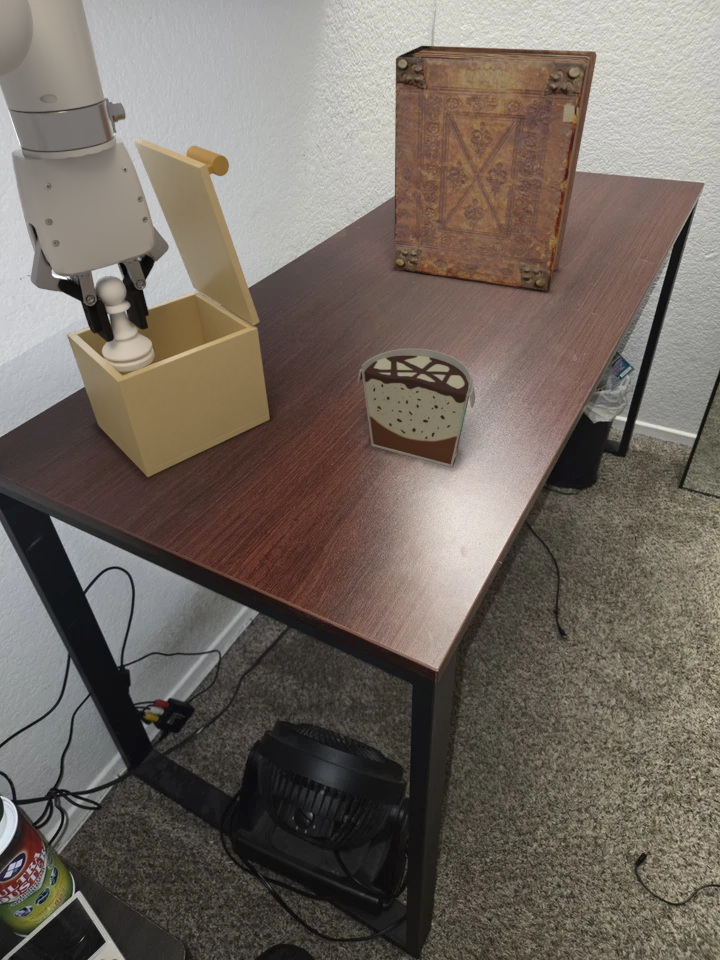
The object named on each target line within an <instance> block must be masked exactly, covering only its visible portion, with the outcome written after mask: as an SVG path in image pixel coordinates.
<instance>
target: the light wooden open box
mask: <svg viewBox="0 0 720 960" xmlns="http://www.w3.org/2000/svg"><path fill="white" fill-rule="evenodd" d="M147 308H148V312H149V315H148V316H146V320H147V324H148V328H147V329H144V330H142V329H140V328H138V327H137V326H136V325H134V324H133V323H132V322H131V321H129V322H130V324H131V325H133V326H135V327H136V328H137V329H138V333H139V334H141V335H143V336H145V337H147V338H148V339H149V340H151V342H152V347H153V350H154V353H155V357H154V360H153V361H152V363H150V364H149V365H148V366H146V367H144V368H141V369H139V370H136V371H131V372H118V371H117V370H116V369H115V368H114V367H112V366H111V365H110V364H109V363H108V362H107V361H106V360H105V359H104V356H103V355H102V349H103V346H104V345H105V344H106V343H107V341H105V340H104V339H103V338H102V337H101V336H100V335H98V334H97V333H96V334H94V333H93V332H92V331H91V330H90V328H89V326H88V327H85V328H81V329H78V330H75V331H72V332H70V333H67V334H66V336H67V339H68V342H69V346H70V349H71V352H72V354H73V356H74V359H75V362H76V365H77V368H78V372H79V374H80V376H81V380H82V382H83V385H84V389H85V391H86V394H87V398H88V400H89V402H90V403H89V404H90V406H91V409H92V411H93V414H94V417H95V420H96V422H97V425H98V427H99V428H100V429H101V430H102V431H103V432H104V433H105V434H106V435H107V437H109V439H111V441H112V442H113V443H114V444H115V445H116V446H117V447H118V448H119V449H120V450H121V451H122V452H123V453H124V454H125V455H126V456H127V457H128V459H130V460H131V462H132V463H133V464H134V465H135V466H136V467H137V468H138V469H139V470H140V471H141V472H142V473H143V474H144V475H145V476H146V477H147V478H149V477H152V476H154V475H156V474H158V473H160V472H162V471H164V470H167V469H169V468H170V467H173V466H175V465H177V464H179V463H181V462H184V461H185V460H188V459H190V458H192V457H194V456H196V455H198V454H200V453H202V452H204V451H207V450H209V449H211V448H213V447H215V446H218V445H220V444H222V443H223V442H225V441H228V440H230V439H232V438H234V437H236V436H239V435H240V434H243V433H245V432H247V431H250V430H251V429H253V428H255V427H257V426H259V425H262V424H264V423H266V422H269V420H271V418H270V417H271V416H270V409H269V403H268V395H267V388H266V381H265V373H264V366H263V358H262V351H261V345H260V344H261V343H260V337H259V330H258V327H257V326H256V325H252V324H251V323H249V322H248V321H246V320H244V319H243V318H241V317H240V316H238V315H236V314H235V313H233V312H232V311H230V310H228V309H227V308H225V307H224V306H222V305H220V304H219V303H217V302H216V301H214V300H212V299H211V298H209V297H208V296H206V295H204V294H203V293H201V292H200V291H198V290H194V291H191V292H189V293H185V294H183V295H180V296H176V297H173V298H170V299H167V300H165V301H162V302H159V303H158V302H157V303H156V304H153V305H150V306H147ZM126 315H127V313H126ZM127 318H128V316H127ZM128 320H129V319H128ZM109 321H110V319H109ZM110 325H111V322H110Z"/></svg>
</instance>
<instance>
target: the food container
mask: <svg viewBox="0 0 720 960" xmlns="http://www.w3.org/2000/svg"><path fill="white" fill-rule="evenodd" d="M360 381H362V384H363V393H364V401H365V407H366V415H367V423H368V431H369V439H370V444H371V447H373V448H376V449H381V450H384V451H388V452H392V453H396V454H399V455H403V456H407V457H411V458H414V459H418V460H422V461H427V462H429V463H433V464H436V465H437V464H438V465H441V466H445V467H448V468H453V466H454V464H455V461H456V458H457V454H458V448H459V444H460V440H461V436H462V431H463V426H464V422H465V417H466V412H467V408H468V404H470V408H471V409H473V408H474V405H475V403H476V392H475V384H474V380H473V377H472V374H471V372H470V369H468V367H467V366H466V365H465V364H464V363H463V362H461V360H459V359H457V358H456V357H453V356H451V355H449V354H448V353H445V352H441V351H437V350H432V349H426V348H399V349H392V350H388V351H385V352H382V353H379V354H376V355H374V356H371V357H370V358H369V359H367V360H366V361H364V362H363V363H362V364H361V368H360V369H359V371H358V376H357V382H358V383H360Z"/></svg>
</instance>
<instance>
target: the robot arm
mask: <svg viewBox="0 0 720 960" xmlns="http://www.w3.org/2000/svg"><path fill="white" fill-rule="evenodd" d="M0 90H1V92H2V95H3V99H4V102H5V105H6V107H7V111H8V114H9V117H10V120H11V123H12V126H13V129H14V132H15V135H16V139H17V141H18V144H19V148H17V149H14V150H13V151H12V152H11V160H12V168H13V173H14V179H15V184H16V189H17V194H18V198H19V203H20V206H21V211H22V214H23V219H24V222H25V225H26V229H27V232H28V236H29V240H30V242H31V246H32V250H33V251H34V255H33V261H32V267H31V273H30V282H31V283H32V284H33V285H34V286H35V287H37V288H38V289H41V290H46V291H51V292H58V293H59V292H61V293H63V294H65V295H68V297H69V296H70V297H71V298H72V299H75V300H77V301H79V302H80V304H81V306H82V310H83V314H84V316H85V319H86V323H87V325H88V327H89V328H90V330H91V331H92V332H93V333H94V334H96V333H97V334H98V335H100V336H101V337H102V338H103V339H104V340H105V341H107V342H110V341H113V339H114V335H113V331H112V328H111V325H110V321H109V320H110V317H109V314H107V311H106V308H105V305H104V303H103V302H101V301H100V300H99V299H98V296H97V295H96V292H95V282H94V277H93V271H97V270H100V269H103V268H108V267H110V266H114V265H117V266H118V269H119V272H120V275H121V277H122V279H121V281H122V282H123V283H124V285H125V287H126V297H125V300H127V301H128V302H129V303H130V305H131V306H130V308H129V309H128V310H126V311H125V312H126V314H127V316H128V319H129V321H131V322H132V323H133V324H134V325H136V326H137V327H138V328H140V329H142V330H144V329H147V328H148V324H147V320H146V316H148V315H149V312H148V308H147V307H148V305H147V300H146V296H145V292H144V289H145V288H146V286H147V279H148V277H149V275H150V274H151V271H152V270H153V268H154V266H155V263H156V262H158V261H159V260H160V259H161V258H162V257H163V256H164V255H165V254H166V253H167V252H168V251H169V248H170V247H169V244H168V242H167V241H166V240H165V238H164V237H163V236H162V235H161V234H160V233H159V231H158V230H157V229H156V228H155V226H154V224H153V220H152V216H151V212H150V209H149V206H148V202H147V199H146V196H145V192H144V189H143V187H142V184H141V180H140V178H139V176H138V173H137V170H136V168H135V165H134V163H133V160H132V157H131V156H130V153H129V150H128V149H127V148H128V147H127V146H126V144H125V142H124V140H123V139H122V138H121V137H120V136H118V135H116V134H117V130H116V124H117V123H119V121H125V120H126V116H127V115H126V111H125V108H124V105H123V104H122V102H120V101H119V102H112V101H110V100H109V98H108V97H106V94H105V90H104V85H103V82H102V77H101V74H100V70H99V65H98V60H97V56H96V53H95V48H94V44H93V41H92V37H91V32H90V28H89V24H88V20H87V15H86V11H85V7H84V3H83V0H0ZM68 277H69V278H68Z"/></svg>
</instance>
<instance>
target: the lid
mask: <svg viewBox="0 0 720 960" xmlns="http://www.w3.org/2000/svg"><path fill="white" fill-rule="evenodd" d="M133 143H134V145H135V147H136V150H137V153H138V155H139V158H140V160H141V162H142V165H143V167H144V170H145V172H146V175H147V177H148V179H149V182H150V184H151V187H152V189H153V191H154V194H155V196H156V199H157V201H158V205H159V207H160V209H161V211H162V214H163V216H164V219H165V221H166V223H167V226H168V228H169V231H170V233H171V236H172V238H173V241H174V243H175V246H176V248H177V250H178V253H179V254H180V258H181V260H182V262H183V265H184V267H185V270H186V272H187V275H188V277H189V279H190V282H191V284H192V288H193V289H195V291H199V292H201V293H202V294H204V295H205V296H207V297H209V298H210V299H212V300H213V301H215V302H217V303H218V304H220V305H221V306H223V307H225V308H226V309H228V310H229V311H231V312H233V313H234V314H236V315H237V316H239V317H241V318H242V319H244V320H245V321H247V322H248V323H250V324H252V325H253V326H256V325H258V324H259V323H260V318H259V316H258V313H257V310H256V309H257V308H256V307H255V304H254V301H253V298H252V295H251V292H250V289H249V286H248V283H247V280H246V277H245V274H244V271H243V268H242V265H241V263H240V259H239V257H238V254H237V251H236V247H235V245H234V242H233V239H232V236H231V233H230V231H229V227H228V224H227V221H226V219H225V215H224V212H223V210H222V206H221V204H220V201H219V198H218V195H217V191H216V189H215V186H214V182H213V180H212V176H211V175H215V176H218V177H224V176H225V175H226V174H227V173H228V172H229V169H230V163H229V160H228V159H227V157H226V156H225V155H222V154H219V153H217V152H215V151H212V150H209V149H206V148H203V147H201V146H198V145H191V146H189V147H188V148H187V150H186V154H185V155H184V154H182V153H179V152H177V151H174V150H171V149H169V148H167V147H164V146H161V145H159V144H157V143H154V142H151V141H149V140H146V139H143V138H138V139H135V140H134V141H133Z"/></svg>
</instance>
